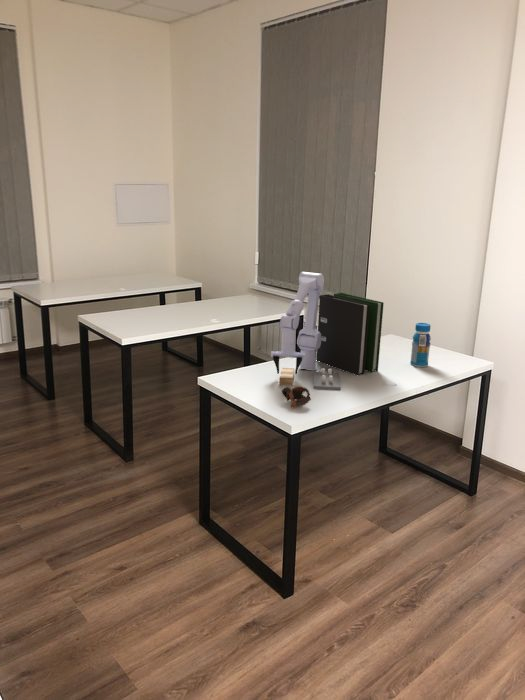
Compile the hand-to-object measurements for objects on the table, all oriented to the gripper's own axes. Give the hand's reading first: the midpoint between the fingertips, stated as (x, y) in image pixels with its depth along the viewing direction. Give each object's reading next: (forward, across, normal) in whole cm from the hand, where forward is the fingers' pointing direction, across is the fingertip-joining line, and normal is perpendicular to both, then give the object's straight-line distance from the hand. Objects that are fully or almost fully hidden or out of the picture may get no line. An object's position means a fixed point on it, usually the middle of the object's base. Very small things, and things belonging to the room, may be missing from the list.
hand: (287, 373), depth 251 cm
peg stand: (+3, +17, 0) cm, 17 cm away
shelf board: (+3, 0, 0) cm, 3 cm away
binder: (+3, +27, +25) cm, 37 cm away
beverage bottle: (+3, +62, +32) cm, 70 cm away
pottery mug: (+3, +4, -28) cm, 29 cm away
